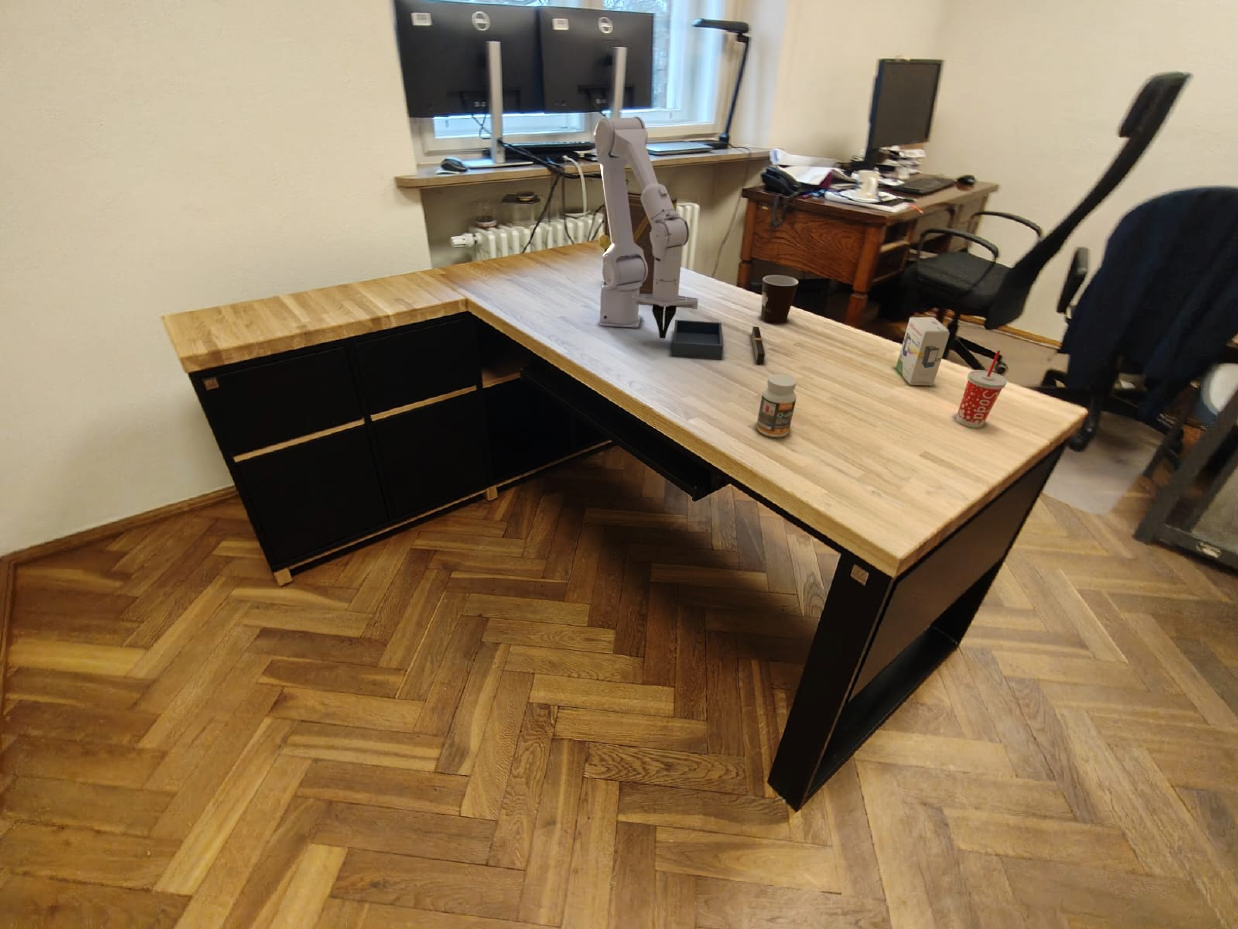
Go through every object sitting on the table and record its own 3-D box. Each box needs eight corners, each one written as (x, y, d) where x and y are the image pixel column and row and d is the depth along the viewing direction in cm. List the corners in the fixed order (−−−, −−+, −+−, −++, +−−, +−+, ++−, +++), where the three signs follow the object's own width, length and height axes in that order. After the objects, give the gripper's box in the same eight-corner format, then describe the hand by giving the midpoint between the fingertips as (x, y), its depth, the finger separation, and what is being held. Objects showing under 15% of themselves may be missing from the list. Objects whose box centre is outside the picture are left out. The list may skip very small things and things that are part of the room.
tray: (671, 356, 129) (672, 342, 127) (674, 332, 141) (675, 319, 139) (721, 359, 128) (723, 345, 127) (719, 335, 140) (721, 322, 138)
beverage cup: (952, 425, 107) (981, 354, 99) (949, 410, 112) (977, 341, 104) (989, 432, 105) (1022, 360, 97) (985, 416, 110) (1015, 347, 102)
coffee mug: (791, 326, 146) (799, 287, 140) (756, 323, 147) (762, 284, 141) (789, 311, 155) (797, 273, 149) (756, 308, 156) (762, 270, 151)
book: (674, 292, 165) (681, 197, 151) (659, 300, 159) (666, 202, 145) (609, 278, 175) (610, 187, 161) (593, 285, 169) (593, 191, 155)
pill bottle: (778, 442, 101) (789, 390, 95) (749, 430, 104) (758, 379, 98) (794, 429, 104) (805, 379, 99) (766, 418, 107) (775, 369, 102)
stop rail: (755, 363, 127) (757, 352, 125) (750, 336, 140) (752, 325, 139) (763, 364, 127) (765, 353, 125) (757, 336, 140) (759, 326, 138)
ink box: (933, 386, 120) (953, 331, 113) (908, 385, 120) (926, 330, 113) (917, 368, 127) (934, 316, 120) (893, 367, 127) (909, 315, 120)
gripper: (631, 281, 124) (629, 341, 132) (700, 285, 123) (693, 345, 130) (634, 271, 130) (632, 329, 137) (700, 275, 129) (694, 333, 136)
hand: (662, 336), depth 134 cm, fingers closed
